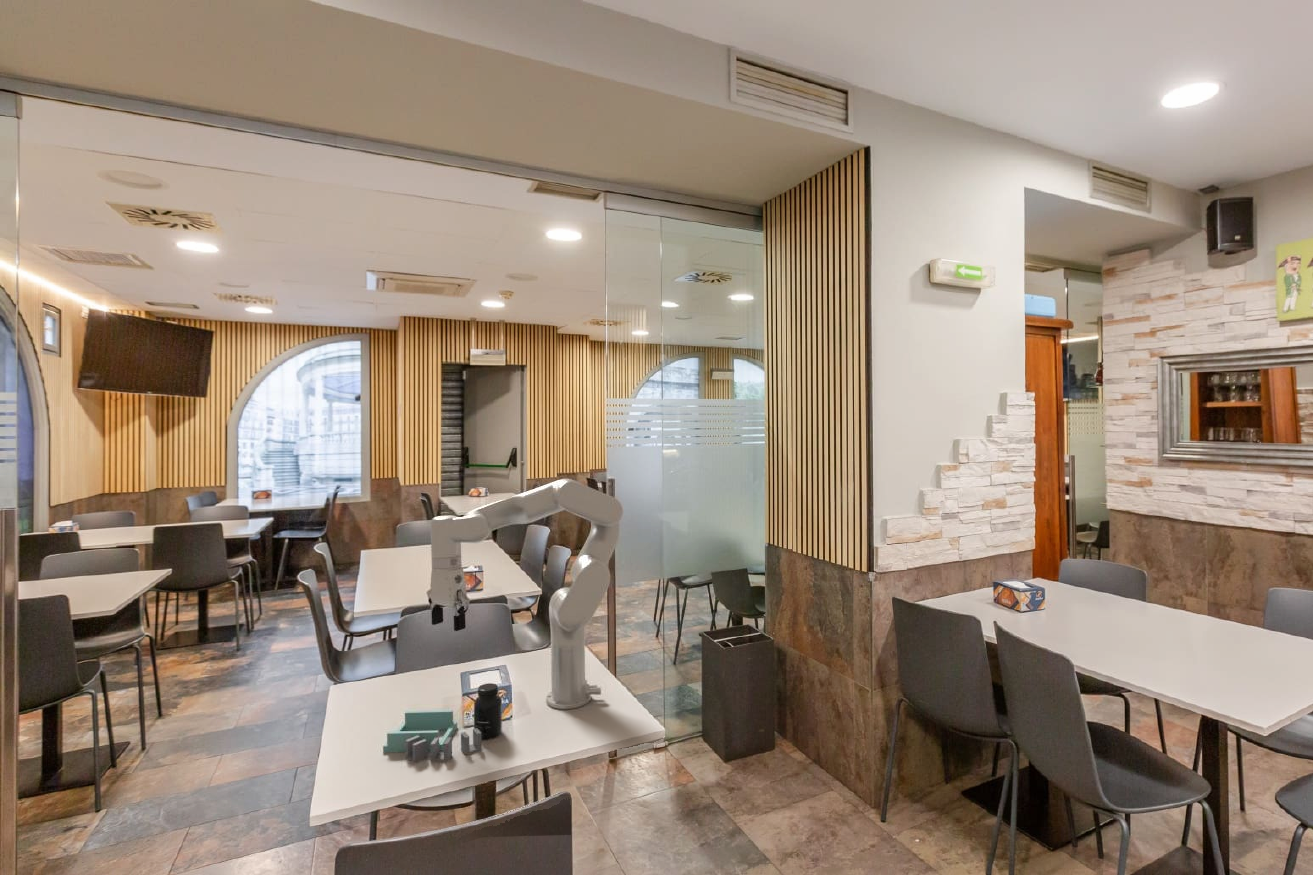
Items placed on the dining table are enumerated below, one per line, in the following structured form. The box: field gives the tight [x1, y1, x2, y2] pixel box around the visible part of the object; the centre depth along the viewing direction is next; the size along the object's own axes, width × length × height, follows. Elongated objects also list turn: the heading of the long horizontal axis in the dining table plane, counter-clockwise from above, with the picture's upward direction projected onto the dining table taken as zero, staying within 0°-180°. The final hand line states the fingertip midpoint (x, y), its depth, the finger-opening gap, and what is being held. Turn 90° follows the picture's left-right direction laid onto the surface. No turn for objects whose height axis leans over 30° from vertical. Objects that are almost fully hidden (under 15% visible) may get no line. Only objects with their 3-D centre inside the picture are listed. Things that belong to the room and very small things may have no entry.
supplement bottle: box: [473, 682, 503, 741], centre depth 156 cm, size 7×7×12 cm
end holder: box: [382, 709, 458, 753], centre depth 154 cm, size 14×12×4 cm
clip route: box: [405, 728, 483, 764], centre depth 146 cm, size 17×8×4 cm, turn 91°
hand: (448, 626), depth 164 cm, fingers open, 9 cm apart
